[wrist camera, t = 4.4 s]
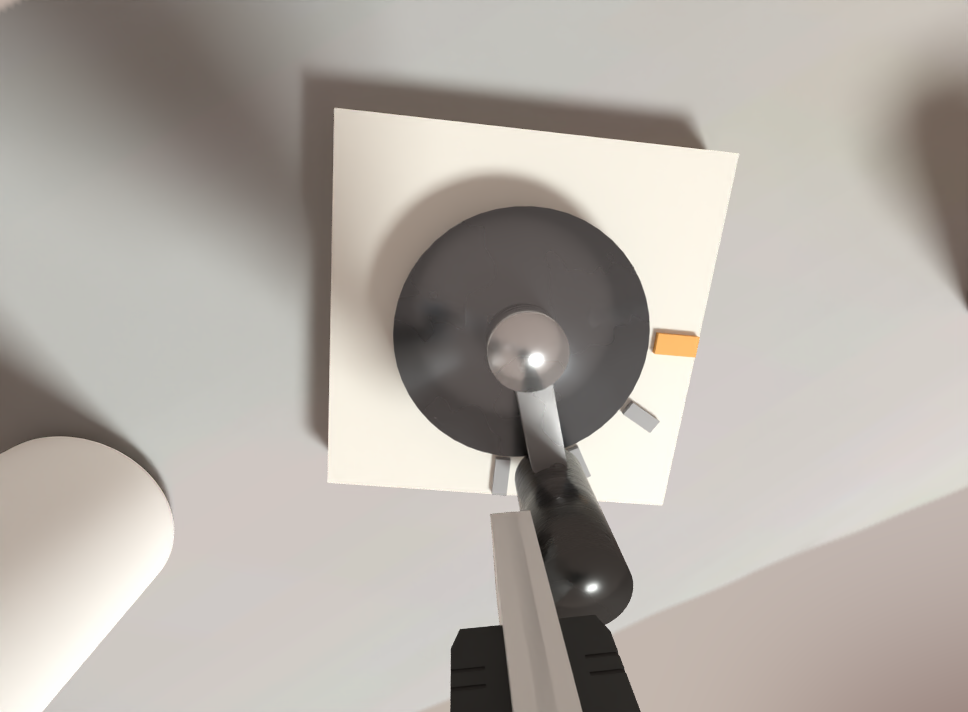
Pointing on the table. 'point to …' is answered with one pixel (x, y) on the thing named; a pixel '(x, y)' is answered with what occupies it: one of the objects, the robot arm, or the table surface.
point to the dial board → (480, 188)
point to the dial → (531, 372)
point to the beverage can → (70, 558)
